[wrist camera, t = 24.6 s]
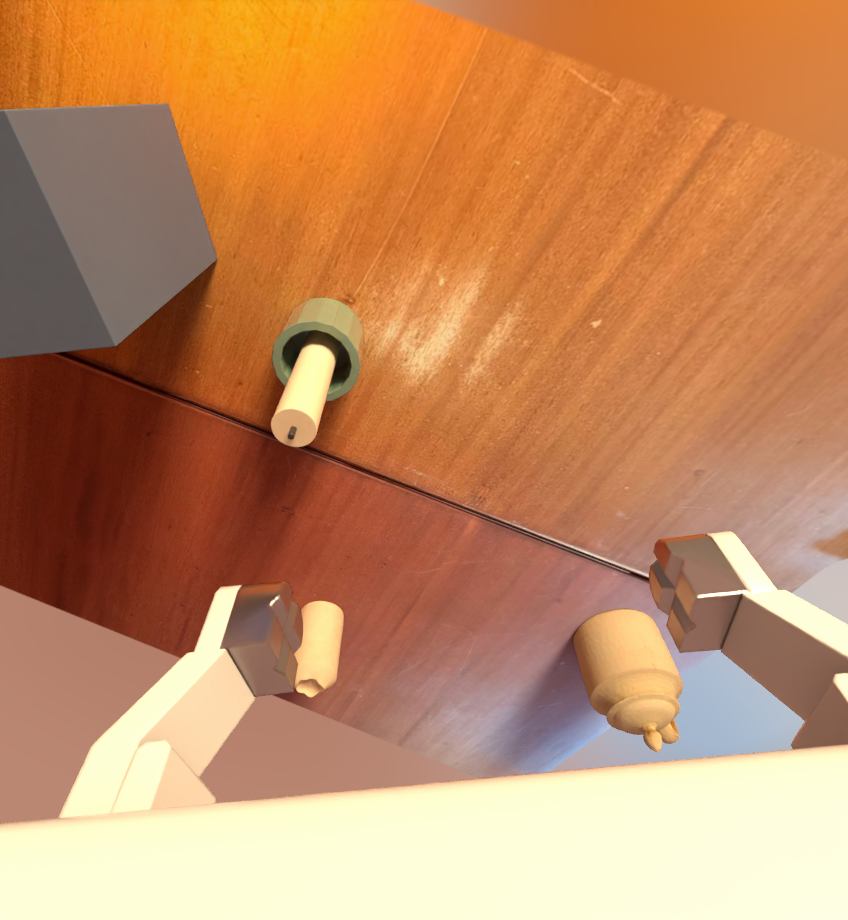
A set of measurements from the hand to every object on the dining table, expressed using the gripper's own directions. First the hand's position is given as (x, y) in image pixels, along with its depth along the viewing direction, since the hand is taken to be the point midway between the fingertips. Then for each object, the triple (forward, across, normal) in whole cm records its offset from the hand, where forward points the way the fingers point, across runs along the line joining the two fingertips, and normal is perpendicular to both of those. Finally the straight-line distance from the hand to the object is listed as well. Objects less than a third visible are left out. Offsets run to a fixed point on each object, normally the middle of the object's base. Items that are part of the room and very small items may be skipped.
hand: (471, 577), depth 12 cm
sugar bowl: (+33, -21, +54) cm, 67 cm away
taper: (+33, +9, +8) cm, 35 cm away
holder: (+34, +9, +8) cm, 36 cm away
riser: (+34, +21, -5) cm, 41 cm away
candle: (+34, +18, +43) cm, 58 cm away
